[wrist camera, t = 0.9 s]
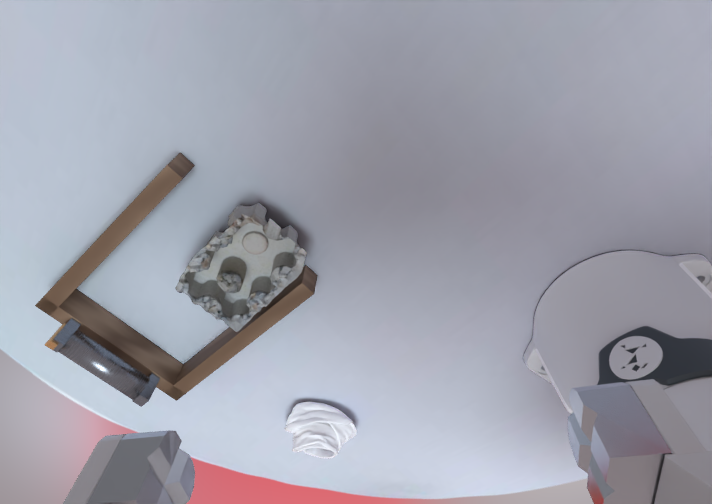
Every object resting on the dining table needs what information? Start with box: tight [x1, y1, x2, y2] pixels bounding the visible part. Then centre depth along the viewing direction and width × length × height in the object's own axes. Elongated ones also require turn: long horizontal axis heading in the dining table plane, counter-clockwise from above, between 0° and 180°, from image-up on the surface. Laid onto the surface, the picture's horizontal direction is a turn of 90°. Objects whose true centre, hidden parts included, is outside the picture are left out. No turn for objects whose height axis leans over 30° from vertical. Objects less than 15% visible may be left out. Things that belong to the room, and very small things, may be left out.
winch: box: [45, 318, 160, 407], centre depth 45 cm, size 10×2×3 cm, turn 42°
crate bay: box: [35, 153, 317, 401], centre depth 45 cm, size 16×20×3 cm
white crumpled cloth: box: [285, 402, 357, 459], centre depth 53 cm, size 8×7×5 cm
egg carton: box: [176, 203, 307, 332], centre depth 42 cm, size 11×8×4 cm
